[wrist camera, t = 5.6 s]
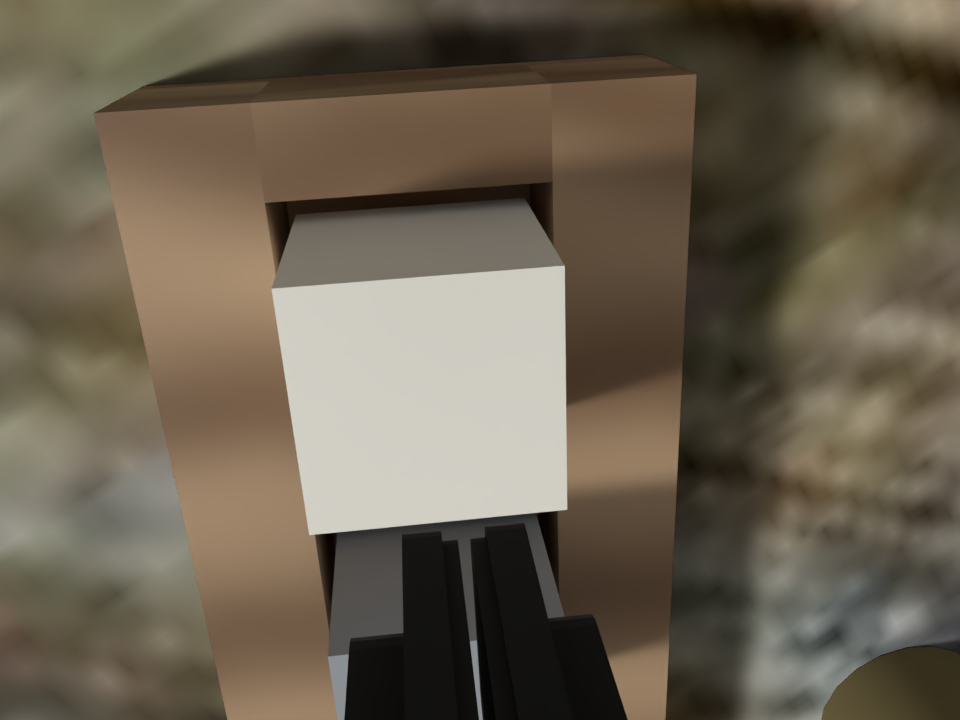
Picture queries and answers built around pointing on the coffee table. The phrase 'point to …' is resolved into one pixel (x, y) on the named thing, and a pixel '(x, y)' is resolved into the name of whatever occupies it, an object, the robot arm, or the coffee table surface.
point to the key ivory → (424, 364)
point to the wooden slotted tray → (399, 183)
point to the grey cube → (379, 588)
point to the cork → (901, 688)
